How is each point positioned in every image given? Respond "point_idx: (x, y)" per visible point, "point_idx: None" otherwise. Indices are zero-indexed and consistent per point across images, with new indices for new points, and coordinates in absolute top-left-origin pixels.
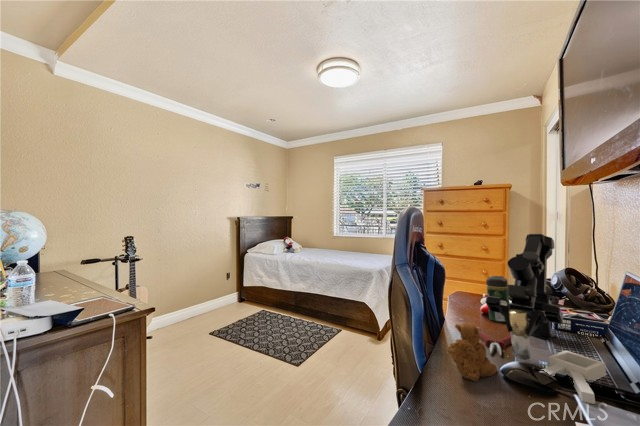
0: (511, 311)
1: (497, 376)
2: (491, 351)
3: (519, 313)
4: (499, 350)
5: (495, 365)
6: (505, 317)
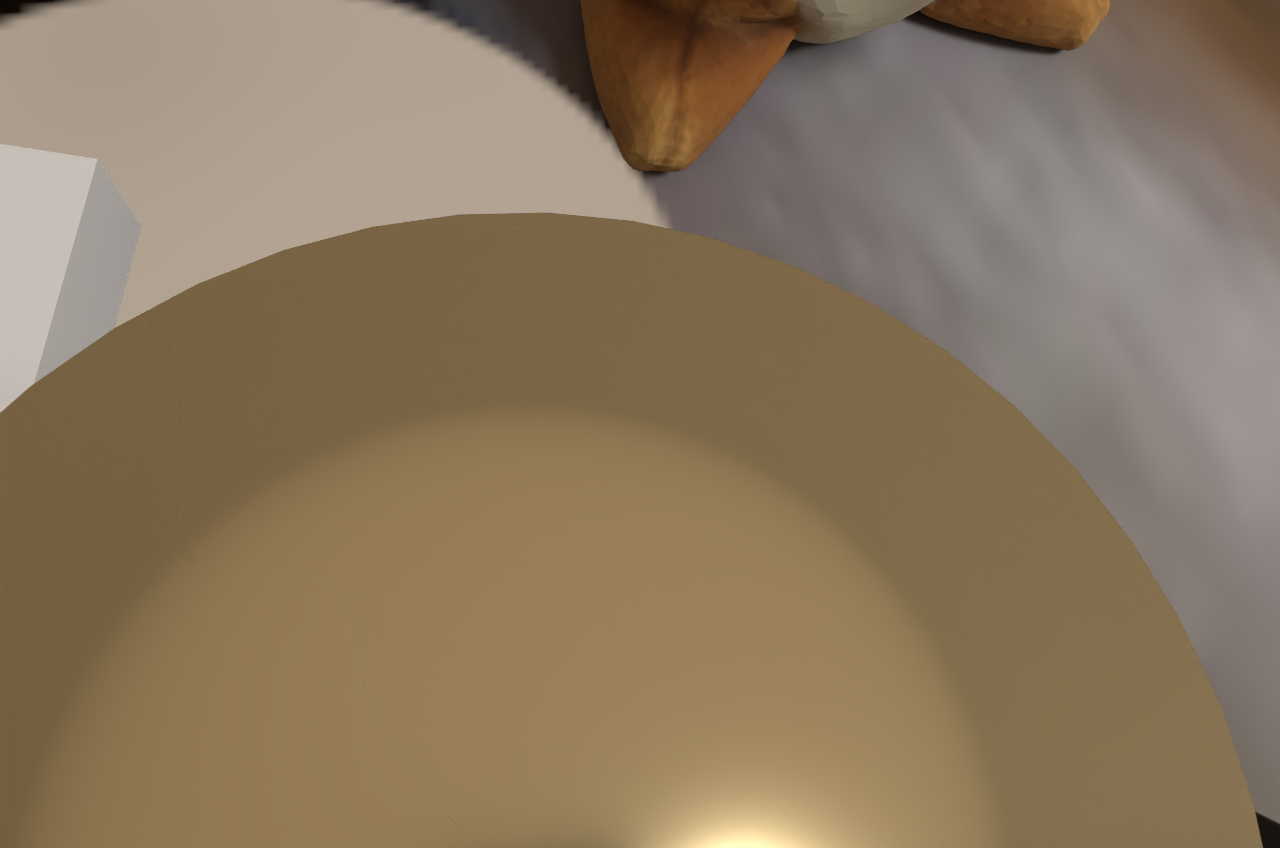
0: (947, 578)
1: (532, 22)
2: None
3: (216, 474)
4: None
5: (642, 126)
6: None
